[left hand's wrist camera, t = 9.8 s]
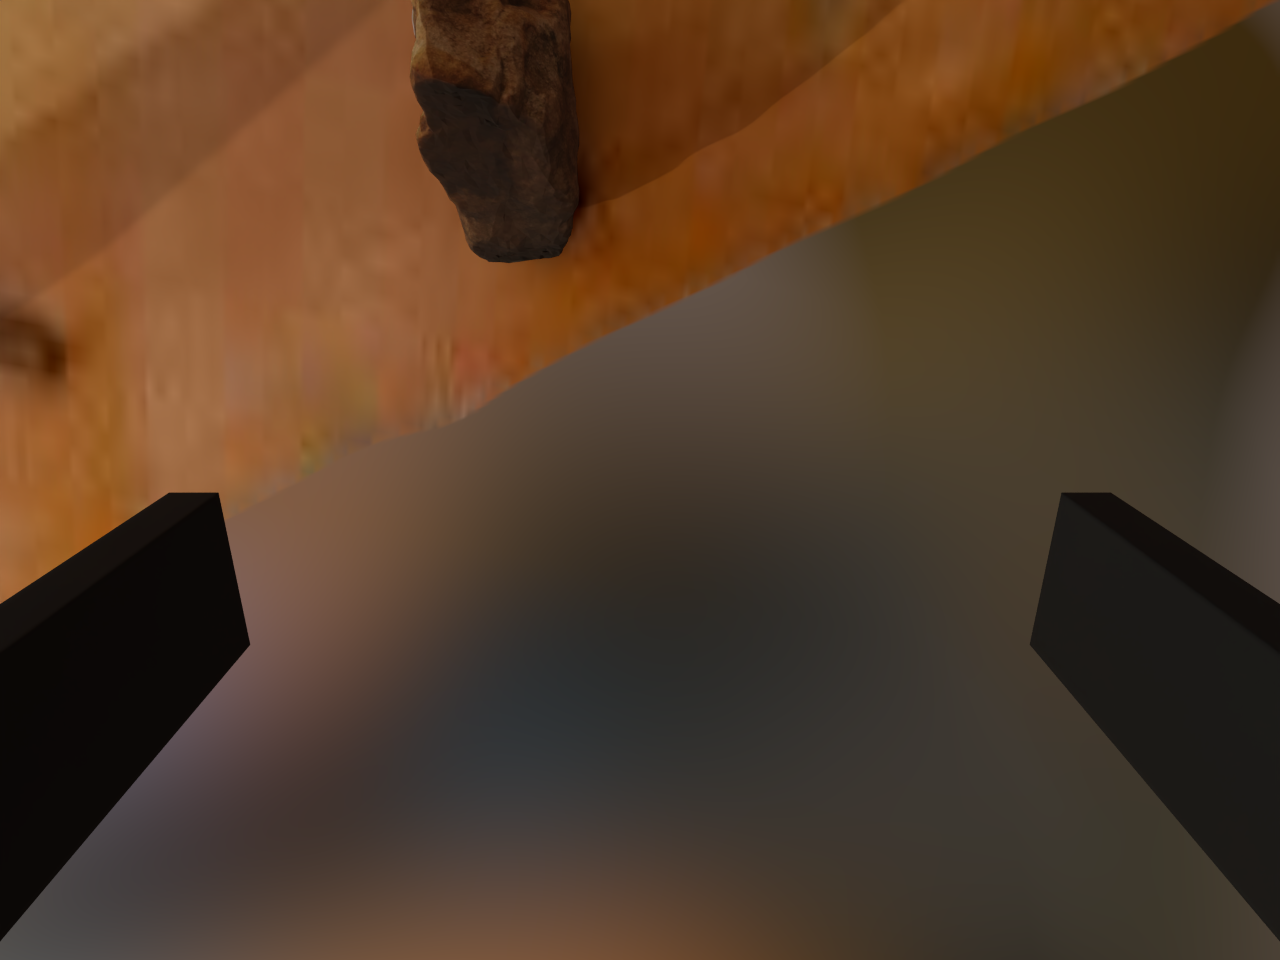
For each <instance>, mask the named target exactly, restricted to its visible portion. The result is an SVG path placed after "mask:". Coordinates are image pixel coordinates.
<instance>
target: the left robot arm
mask: <svg viewBox="0 0 1280 960" xmlns="http://www.w3.org/2000/svg"><path fill="white" fill-rule="evenodd" d="M249 645H250V641H249V637H248V632H247V627H246V622H245V618H244V613H243V608H242V603H241V598H240V594H239V589H238V584H237V579H236V575H235V570H234V565H233V560H232V555H231V551H230V546H229V541H228V536H227V531H226V527H225V522H224V517H223V512H222V507H221V503H220V498H219V493H168V494H166V495H165V496H163V497H162V498H160V499H159V500H157V501H156V502H154V503H153V504H151V505H150V506H148V507H147V508H145V509H144V510H142V511H141V512H139V513H138V514H136V515H135V516H133V517H132V518H130V519H129V520H127V521H126V522H124V523H122V524H121V525H119V526H118V527H116V528H115V529H113V530H112V531H110V532H109V533H107V534H106V535H104V536H103V537H101V538H100V539H98V540H97V541H95V542H94V543H92V544H91V545H89V546H88V547H86V548H85V549H83V550H82V551H80V552H79V553H77V554H75V555H74V556H72V557H71V558H69V559H68V560H66V561H65V562H63V563H62V564H60V565H59V566H57V567H56V568H54V569H53V570H51V571H50V572H48V573H47V574H45V575H44V576H42V577H41V578H39V579H38V580H36V581H35V582H33V583H31V584H30V585H28V586H27V587H25V588H24V589H22V590H21V591H19V592H18V593H16V594H15V595H13V596H12V597H10V598H9V599H7V600H6V601H4V602H3V603H1V604H0V941H1V940H2V939H3V937H4V936H5V935H6V934H7V932H8V931H9V930H10V929H11V928H12V927H13V925H14V924H15V923H16V922H17V921H18V919H19V918H20V917H21V916H22V915H23V914H24V912H25V911H26V910H27V909H28V908H29V906H30V905H31V904H32V903H33V902H34V901H35V899H36V898H37V897H38V896H39V895H40V893H41V892H42V891H43V890H44V889H45V887H46V886H47V885H48V884H49V883H50V882H51V880H52V879H53V878H54V877H55V876H56V874H57V873H58V872H59V871H60V870H61V869H62V867H63V866H64V865H65V864H66V863H67V861H68V860H69V859H70V858H71V857H72V855H73V854H74V853H75V852H76V851H77V850H78V848H79V847H80V846H81V845H82V844H83V842H84V841H85V840H86V839H87V838H88V836H89V835H90V834H91V833H92V832H93V831H94V829H95V828H96V827H97V826H98V825H99V823H100V822H101V821H102V820H103V819H104V817H105V816H106V815H107V814H108V813H109V812H110V810H111V809H112V808H113V807H114V806H115V804H116V803H117V802H118V801H119V800H120V798H121V797H122V796H123V795H124V794H125V793H126V791H127V790H128V789H129V788H130V787H131V785H132V784H133V783H134V782H135V781H136V780H137V778H138V777H139V776H140V775H141V774H142V772H143V771H144V770H145V769H146V768H147V766H148V765H149V764H150V763H151V762H152V761H153V759H154V758H155V757H156V756H157V755H158V753H159V752H160V751H161V750H162V749H163V747H164V746H165V745H166V744H167V743H168V742H169V740H170V739H171V738H172V737H173V736H174V734H175V733H176V732H177V731H178V730H179V728H180V727H181V726H182V725H183V724H184V723H185V721H186V720H187V719H188V718H189V717H190V715H191V714H192V713H193V712H194V711H195V710H196V708H197V707H198V706H199V705H200V704H201V702H202V701H203V700H204V699H205V698H206V696H207V695H208V694H209V693H210V692H211V691H212V689H213V688H214V687H215V686H216V685H217V683H218V682H219V681H220V680H221V679H222V677H223V676H224V675H225V674H226V673H227V672H228V670H229V669H230V668H231V667H232V666H233V664H234V663H235V662H236V661H237V660H238V659H239V657H240V656H241V655H242V654H243V653H244V651H245V650H246V649H247V648H248V647H249ZM1030 645H1031V647H1032V648H1033V649H1034V650H1035V651H1036V653H1037V654H1038V655H1039V656H1040V657H1041V658H1042V660H1043V661H1044V662H1045V663H1046V664H1047V666H1048V667H1049V668H1050V669H1051V670H1052V672H1053V673H1054V674H1055V675H1056V676H1057V677H1058V679H1059V680H1060V681H1061V682H1062V683H1063V685H1064V686H1065V687H1066V688H1067V689H1068V691H1069V692H1070V693H1071V694H1072V695H1073V696H1074V698H1075V699H1076V700H1077V701H1078V702H1079V704H1080V705H1081V706H1082V707H1083V708H1084V710H1085V711H1086V712H1087V713H1088V714H1089V715H1090V717H1091V718H1092V719H1093V720H1094V721H1095V723H1096V724H1097V725H1098V726H1099V727H1100V728H1101V730H1102V731H1103V732H1104V733H1105V734H1106V736H1107V737H1108V738H1109V739H1110V740H1111V741H1112V743H1113V744H1114V745H1115V746H1116V747H1117V749H1118V750H1119V751H1120V752H1121V753H1122V755H1123V756H1124V757H1125V758H1126V759H1127V761H1128V762H1129V763H1130V764H1131V765H1132V766H1133V768H1134V769H1135V770H1136V771H1137V772H1138V774H1139V775H1140V776H1141V777H1142V778H1143V779H1144V781H1145V782H1146V783H1147V784H1148V785H1149V787H1150V788H1151V789H1152V790H1153V791H1154V793H1155V794H1156V795H1157V796H1158V797H1159V799H1160V800H1161V801H1162V802H1163V803H1164V804H1165V806H1166V807H1167V808H1168V809H1169V810H1170V812H1171V813H1172V814H1173V815H1174V816H1175V817H1176V819H1177V820H1178V821H1179V822H1180V823H1181V825H1182V826H1183V827H1184V828H1185V829H1186V831H1187V832H1188V833H1189V834H1190V835H1191V836H1192V838H1193V839H1194V840H1195V841H1196V842H1197V844H1198V845H1199V846H1200V847H1201V848H1202V850H1203V851H1204V852H1205V853H1206V854H1207V855H1208V857H1209V858H1210V859H1211V860H1212V861H1213V863H1214V864H1215V865H1216V866H1217V867H1218V869H1219V870H1220V871H1221V872H1222V873H1223V874H1224V876H1225V877H1226V878H1227V879H1228V880H1229V881H1230V883H1231V884H1232V885H1233V886H1234V887H1235V889H1236V890H1237V891H1238V892H1239V893H1240V895H1241V896H1242V897H1243V898H1244V899H1245V901H1246V902H1247V903H1248V904H1249V905H1250V906H1251V908H1252V909H1253V910H1254V911H1255V912H1256V914H1257V915H1258V916H1259V917H1260V918H1261V920H1262V921H1263V922H1264V923H1265V924H1266V925H1267V927H1268V928H1269V929H1270V930H1271V931H1272V933H1273V934H1274V935H1275V936H1276V937H1277V939H1278V940H1279V941H1280V604H1279V603H1277V602H1276V601H1274V600H1273V599H1271V598H1270V597H1268V596H1267V595H1265V594H1264V593H1262V592H1261V591H1259V590H1258V589H1256V588H1255V587H1253V586H1251V585H1250V584H1249V583H1247V582H1245V581H1244V580H1242V579H1241V578H1239V577H1238V576H1236V575H1235V574H1233V573H1232V572H1230V571H1229V570H1227V569H1226V568H1224V567H1223V566H1221V565H1220V564H1218V563H1217V562H1215V561H1214V560H1212V559H1210V558H1209V557H1208V556H1206V555H1205V554H1203V553H1201V552H1200V551H1198V550H1197V549H1195V548H1194V547H1192V546H1191V545H1189V544H1188V543H1186V542H1185V541H1183V540H1182V539H1180V538H1179V537H1177V536H1176V535H1174V534H1173V533H1171V532H1170V531H1168V530H1167V529H1165V528H1164V527H1162V526H1161V525H1159V524H1158V523H1156V522H1154V521H1153V520H1151V519H1150V518H1148V517H1147V516H1145V515H1144V514H1142V513H1141V512H1139V511H1138V510H1136V509H1135V508H1133V507H1132V506H1130V505H1129V504H1127V503H1126V502H1124V501H1123V500H1121V499H1120V498H1118V497H1117V496H1115V495H1113V494H1112V493H1061V498H1060V503H1059V508H1058V512H1057V517H1056V522H1055V527H1054V531H1053V536H1052V541H1051V546H1050V551H1049V555H1048V560H1047V565H1046V570H1045V574H1044V579H1043V584H1042V589H1041V594H1040V598H1039V603H1038V608H1037V613H1036V617H1035V622H1034V627H1033V632H1032V637H1031V642H1030Z"/></svg>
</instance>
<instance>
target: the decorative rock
mask: <svg viewBox="0 0 1280 960" xmlns="http://www.w3.org/2000/svg"><path fill="white" fill-rule="evenodd" d="M411 3H412V8H413V9H412V22H413V29H414V35H415V38H416V41H415V44H414V47H413V50H412V57H411V68H410V81H411V85H412V88H413V91H414V93H415V96H416V99H417V101H418V103H419V104H420V106H421V107H422V109H423V113H422V115H421V117H420V125H419V128H418V130H417V132H416V138H417V142H418V146H419V150H420V153H421V155H422V158H423V160H424V162H425V164H426V165H427V167H428V169H429V171H430V172H431V173H432V174H433V175H434V176H435V177H436V178H437V179H438V180H439V181H440V183H441V184H442V185H443V187H444V189H445V191H446V193H447V195H448V197H449V199H450V200H451V201H452V202H453V203H454V204H455V205H456V207H457V210H458V214H459V217H460V220H461V223H462V226H463V229H464V232H465V237H466V241H467V243H468V245H469V247H470V249H471V250H472V251H473V252H474V253H475V254H476V255H478V256H479V257H481V258H483V259H486V260H487V261H488V262H505V263H512V262H520V261H526V260H533V259H542V258H552V257H556V256H559V255H560V254H561V253H562V250H563V248H564V246H565V245H566V243H567V241H568V238H569V236H570V235H571V231H572V228H573V213H574V211H575V209H576V208H577V206H578V202H579V186H578V177H577V152H578V147H579V127H578V120H577V114H576V98H575V93H574V87H573V82H572V64H571V52H570V41H571V33H570V22H571V10H570V4H569V1H568V0H411Z"/></svg>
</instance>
